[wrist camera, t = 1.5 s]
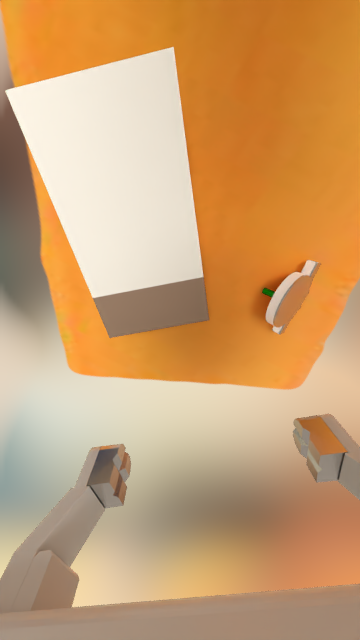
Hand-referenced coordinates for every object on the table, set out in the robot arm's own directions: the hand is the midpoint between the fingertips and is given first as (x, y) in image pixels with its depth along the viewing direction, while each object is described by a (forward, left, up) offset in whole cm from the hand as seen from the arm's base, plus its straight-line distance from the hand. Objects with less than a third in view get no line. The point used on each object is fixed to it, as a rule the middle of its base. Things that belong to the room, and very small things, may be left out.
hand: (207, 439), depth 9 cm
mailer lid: (-8, -5, -26) cm, 28 cm away
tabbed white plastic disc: (+8, +19, -32) cm, 38 cm away
